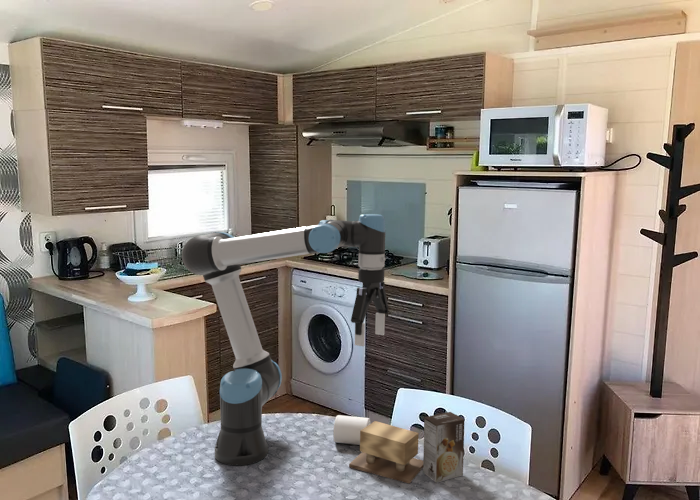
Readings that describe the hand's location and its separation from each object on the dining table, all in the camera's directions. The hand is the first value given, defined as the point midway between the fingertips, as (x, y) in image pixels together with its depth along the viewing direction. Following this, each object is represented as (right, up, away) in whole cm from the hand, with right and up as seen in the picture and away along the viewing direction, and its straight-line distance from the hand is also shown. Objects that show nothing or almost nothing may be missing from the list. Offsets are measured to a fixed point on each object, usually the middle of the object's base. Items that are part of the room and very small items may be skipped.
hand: (370, 339), depth 171 cm
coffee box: (+19, -35, -12) cm, 42 cm away
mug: (-5, -32, +9) cm, 34 cm away
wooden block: (+5, -30, -8) cm, 32 cm away
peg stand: (+5, -34, -8) cm, 35 cm away
